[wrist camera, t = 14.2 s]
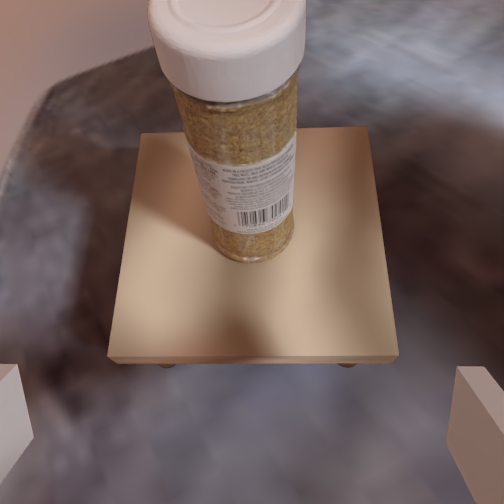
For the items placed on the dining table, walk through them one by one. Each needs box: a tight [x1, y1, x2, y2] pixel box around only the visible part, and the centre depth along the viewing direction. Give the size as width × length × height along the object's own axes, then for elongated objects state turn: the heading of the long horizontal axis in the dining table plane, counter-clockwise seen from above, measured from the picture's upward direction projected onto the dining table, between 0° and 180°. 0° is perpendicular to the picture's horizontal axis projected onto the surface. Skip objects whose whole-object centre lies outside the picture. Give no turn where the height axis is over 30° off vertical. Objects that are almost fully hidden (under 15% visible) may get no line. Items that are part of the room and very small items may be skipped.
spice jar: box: [147, 0, 306, 264], centre depth 18 cm, size 5×5×13 cm
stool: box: [107, 126, 399, 368], centre depth 27 cm, size 14×14×6 cm
